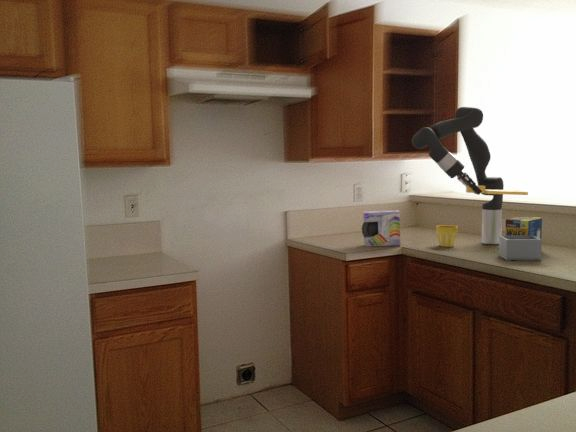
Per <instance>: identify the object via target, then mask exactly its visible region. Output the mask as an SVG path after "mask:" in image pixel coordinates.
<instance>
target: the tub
mask: <svg viewBox="0 0 576 432" xmlns="http://www.w3.org/2000/svg"><path fill="white" fill-rule="evenodd" d="M542 240H543V239H542V238H541V239H539V238H537V237H535V236H533V235H521V236H505V235H501V236H499V244H498V256H499V257H500V258H501V257H502V258H501V259H503V258H504V259H505V260H504V259H503V260H504V261H506V260H541V261H542V243H543V241H542Z"/></svg>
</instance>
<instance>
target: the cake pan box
mask: <svg viewBox="0 0 576 432" xmlns="http://www.w3.org/2000/svg"><path fill="white" fill-rule="evenodd" d="M362 215H363V222H362V226H361V232H362V233H361V234H362V235H363V243H364V247H389V246H401V245H402V241H401V212H400V210H398V209H397V210H366V211H365V210H364V211H363V214H362Z"/></svg>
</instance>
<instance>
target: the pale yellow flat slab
mask: <svg viewBox="0 0 576 432" xmlns="http://www.w3.org/2000/svg"><path fill="white" fill-rule="evenodd" d="M476 186H477V187H478V188H479V189H480V190H481V191H482V192H481V193H486V194H503V195H513V196H514V195H517V196H528V195H529V192H528V191H523V190H517V189H515V190H514V189H503V190H488V189H485V186H478V185H476ZM465 193H470V194H475V192H474V191H473V190H472V189H471V188H470V187H469V186H465ZM481 193H480V194H481Z"/></svg>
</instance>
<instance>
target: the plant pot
mask: <svg viewBox="0 0 576 432" xmlns="http://www.w3.org/2000/svg"><path fill="white" fill-rule="evenodd" d="M458 230H459V226H458V225H448V224H445V225H444V224H441V225H436V226H435V233H436V234H437V239H438V243H439V246H440V247H443V248H444V247H447V248H448V247H449V248H450V247H451V248H452V247H454V246H455V240H456V237H457V234H458Z"/></svg>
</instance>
